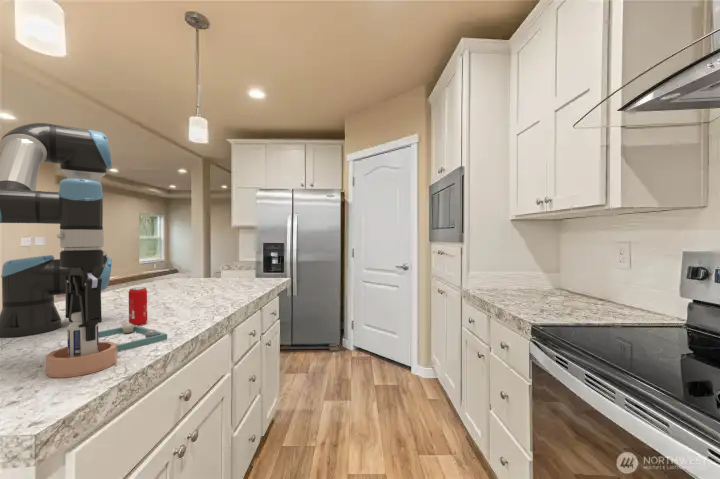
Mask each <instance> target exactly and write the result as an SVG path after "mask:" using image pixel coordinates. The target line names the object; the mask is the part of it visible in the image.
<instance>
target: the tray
mask: <svg viewBox="0 0 720 479" xmlns="http://www.w3.org/2000/svg"><path fill="white" fill-rule="evenodd" d="M122 327H123V326H120V327H116V328H111V329H106V330H101V331H98V334H99V335H98V337H99V338H104V337H109V336H113V335H117V334H116V333H118V334H121V333H120V332H123V330H122ZM151 329H152V328H146V327H143V326H141V325H139V326H136V325H134V330H133V331H132V332H135V331H136V332H135V333H138V332H139V333H138V334H141V333H142V335H145V334H146V332H147V331H149V330H151ZM156 331H157V330H156ZM123 333H124V332H123ZM157 333H158V335H157V336H153V337H149V338H146V337H144V338H141V339H136V340H133V341H129V342H124V343H121V344H117V351H119V352H122V351H121V350H123V351H126V349H127V350H129V349H130V348H131V349H134V347H135V348H138V346H139V347H143V346H145V345H150V344H154V343H158V342H163V341H165V340H168V333H165V332H161V331H159V330H158V331H157ZM112 334H113V335H112ZM108 335H109V336H108ZM103 336H104V337H103Z"/></svg>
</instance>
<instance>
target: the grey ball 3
mask: <svg viewBox="0 0 720 479" xmlns="http://www.w3.org/2000/svg"><path fill="white" fill-rule="evenodd" d="M150 329H151V330H149V331H147V332H146V334H144V335H145V337H144V338H149V337H153V336H157V335H158V333H157V330H156V329H154V328H153V329H152V328H150Z"/></svg>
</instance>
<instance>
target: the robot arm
mask: <svg viewBox="0 0 720 479" xmlns="http://www.w3.org/2000/svg"><path fill="white" fill-rule="evenodd" d="M109 144H110V143H109V140H108V136H107V135H106V134H105V133H104V132H101V131H97V130H92V129H89V128H87V129H86V128H79V127H73V126H72V127H71V126H67V125H66V126H65V125H61V124H60V125H59V124H52V123H46V122H34V123H33V122H32V123H28V124H27V123H26V124H23V125H20V126H17V127H15V128H13V129H11V130H9V131H8V132H7V133H5V134H3V136H2V137H1V140H0V153H1V155H0V224H45V225H46V224H50V225H51V224H52V225H53V224H54V225H60V226H59V233H58V234H57V235H56V238H57V239H59V246H60V248H61V249H63V250H60V252H59V259H58V258H55V257H54V255H52V254H47V255H40V256H39V255H38V256H31V257H23V258H16V259H10V260H7V261H5V262H4V263H3V264H2V269H1V275H0V278H1V288H2V289H1V292H2V293H1V295H2V296H1V299H2V300H1V301H2V302H1V303H2V305H1V306H2V307H1V308H2V309H1V311H0V338H14V337H21V336H22V337H23V336H24V337H25V336H30V335H38V334H42V333H47V332H51V331H54V330H57V329H60V328H62V318H61V316H60V315H61V314H59V311H58V310H57V309H58V308H57V307H56V305H55V296H59V295H60V296H61V295H65V315H64V316H65V319H67V320H68V322H69V324H71V323H73V321H72V320H71V314H73V313H76V312H81V316H82V324H81V325H78V327H79V328H80V343H81V356H86V355H90V354H94V353H97V324H98V325H99V324H100V323H102V316H103V315H102V291H105V290H106V289H107V288H108V286H109V283H110V279H111V272H112V264H113V262H112V260H113V259H112V257H109V256H107V251H105V250H104V249H102V248H103V247H104V246H105V244H104V235H105V234H104V226H103V225H104V224H103V223H104V222H103V221H104V219H103V218H104V194H103V185H102V178H103V177H105V175H107V170H110V169H112V167H113V163H112V155H111V149H110V145H109ZM43 163H52V164H60V166H59V167H60V171H61V172H63V173H64V174H65V175H66V178H64V179H62V180H60V182H59V190H58V191H42V190H36V189H37V184H38V179H39V173H40V168H41V164H43Z"/></svg>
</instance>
